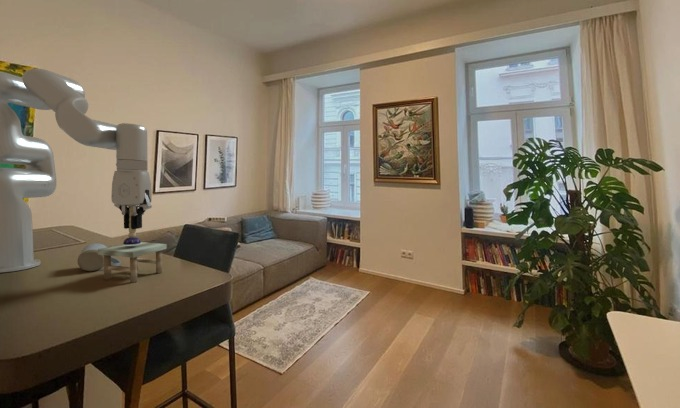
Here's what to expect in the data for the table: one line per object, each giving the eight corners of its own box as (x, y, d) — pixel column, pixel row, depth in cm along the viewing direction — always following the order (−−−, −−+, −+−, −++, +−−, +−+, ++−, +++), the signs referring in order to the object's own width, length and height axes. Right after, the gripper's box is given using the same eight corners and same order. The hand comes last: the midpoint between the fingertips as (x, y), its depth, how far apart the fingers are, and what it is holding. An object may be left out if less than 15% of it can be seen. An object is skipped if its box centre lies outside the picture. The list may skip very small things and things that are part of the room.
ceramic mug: (76, 273, 90) (76, 248, 89) (81, 267, 96) (81, 243, 96) (119, 269, 95) (119, 246, 95) (121, 263, 102) (121, 241, 102)
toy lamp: (130, 241, 91) (129, 187, 90) (146, 242, 91) (146, 188, 90) (119, 244, 86) (119, 187, 85) (136, 245, 86) (136, 188, 85)
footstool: (98, 280, 84) (97, 249, 84) (135, 268, 96) (134, 241, 96) (133, 284, 82) (133, 252, 82) (166, 271, 94) (166, 244, 93)
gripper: (97, 165, 85) (99, 228, 86) (144, 166, 82) (144, 231, 83) (121, 167, 92) (122, 225, 93) (165, 168, 89) (165, 228, 90)
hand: (133, 227), depth 88 cm, fingers closed on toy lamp
